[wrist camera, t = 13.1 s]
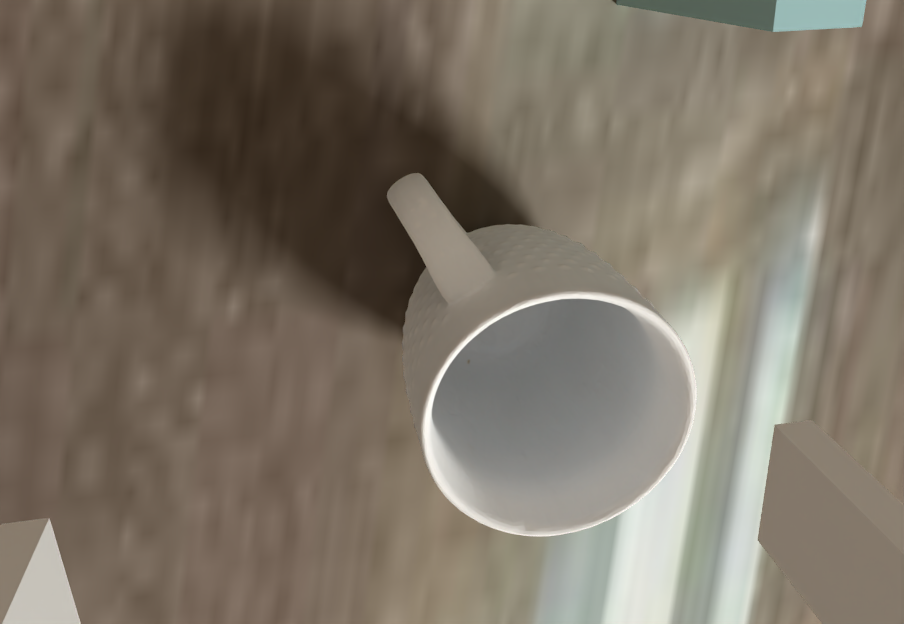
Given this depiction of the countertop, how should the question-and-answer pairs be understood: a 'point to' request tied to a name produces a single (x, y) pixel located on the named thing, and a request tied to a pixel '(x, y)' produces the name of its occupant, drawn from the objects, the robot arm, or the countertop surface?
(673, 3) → the pale teal block
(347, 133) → the countertop surface
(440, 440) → the mug
